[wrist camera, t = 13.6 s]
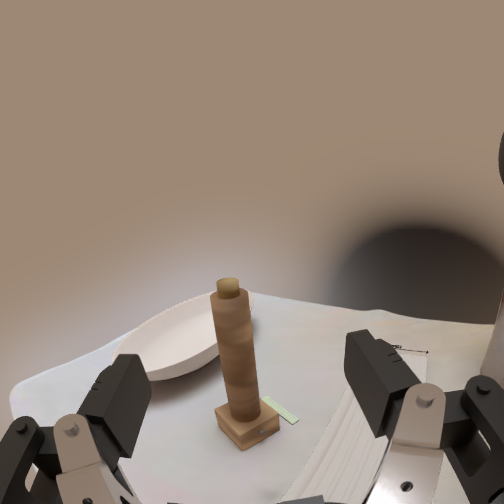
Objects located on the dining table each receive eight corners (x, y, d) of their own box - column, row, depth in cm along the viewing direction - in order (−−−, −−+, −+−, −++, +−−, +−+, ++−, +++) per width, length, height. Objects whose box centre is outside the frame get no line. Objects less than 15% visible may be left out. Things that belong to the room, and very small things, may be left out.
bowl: (215, 310, 60) (211, 284, 58) (278, 322, 52) (276, 293, 51) (103, 383, 35) (89, 351, 33) (169, 427, 27) (155, 392, 26)
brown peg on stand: (253, 407, 30) (236, 268, 26) (281, 431, 26) (274, 281, 22) (218, 425, 28) (187, 282, 23) (245, 453, 23) (218, 300, 19)
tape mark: (266, 396, 32) (266, 395, 32) (299, 420, 27) (299, 419, 27) (260, 400, 32) (260, 399, 32) (292, 424, 27) (292, 423, 27)
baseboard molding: (242, 527, 14) (370, 565, 8) (238, 518, 14) (380, 560, 7) (353, 354, 39) (425, 364, 33) (354, 339, 39) (429, 348, 32)
